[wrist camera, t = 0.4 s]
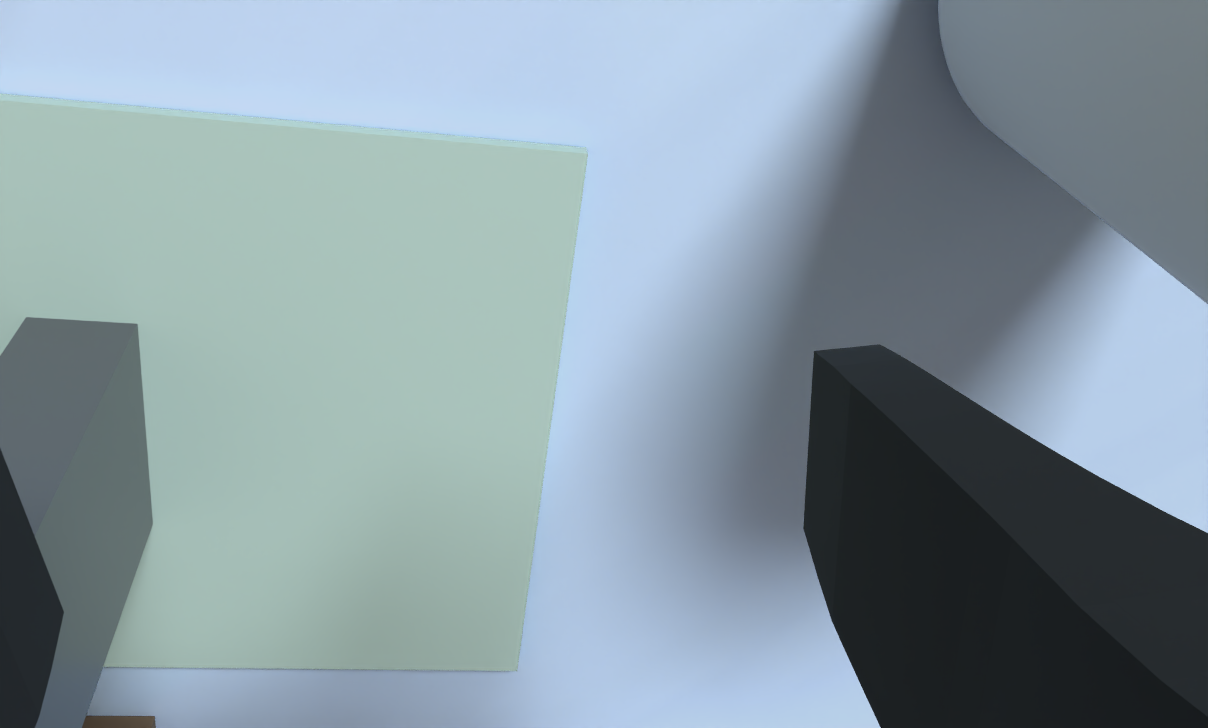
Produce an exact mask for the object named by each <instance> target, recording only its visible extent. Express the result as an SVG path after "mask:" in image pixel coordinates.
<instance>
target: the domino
mask: <svg viewBox="0 0 1208 728" xmlns="http://www.w3.org/2000/svg"><path fill="white" fill-rule="evenodd" d="M0 448H1V451H2V454H3V456H4V459H5V461H6V464H7V466H8V469H9V472H10V474H11V477H12V479H13V482H14V484H15V487H16V490H17V492H18V495H19V497H20V500H21V502H22V505H23V508H24V510H25V513H26V515H27V518H28V520H29V523H30V526H31V528H32V531H33V533H34V536H35V538H36V541H37V544H38V546H39V549H40V551H41V554H42V556H43V559H44V562H45V564H46V567H47V569H48V572H49V574H50V577H51V580H52V582H53V585H54V587H55V590H56V592H57V595H58V598H59V600H60V603H61V605H62V608H63V610H64V615H63V619H62V624H61V628H60V633H59V638H58V642H57V647H56V651H55V656H54V660H53V665H52V669H51V673H50V677H49V681H48V685H47V689H46V693H45V696H44V700H43V704H42V708H41V712H40V716H39V718H38V721H37V724H36V726H35V728H82V726H83V723H84V720H85V717H86V714H87V711H88V709H89V706H90V703H91V700H92V697H93V694H94V691H95V689H96V686H97V683H98V680H99V677H100V674H101V671H102V669H103V666H104V663H105V660H106V657H107V654H108V651H109V649H110V646H111V643H112V640H113V637H114V634H115V631H116V629H117V626H118V623H119V620H120V617H121V614H122V611H123V608H124V606H125V603H126V600H127V597H128V594H129V591H130V588H131V586H132V583H133V580H134V577H135V574H136V571H137V568H138V566H139V563H140V560H141V557H142V554H143V551H144V548H145V546H146V543H147V540H148V537H149V534H150V531H151V528H152V526H153V518H152V505H151V492H150V479H149V466H148V452H147V439H146V426H145V413H144V400H143V387H142V374H141V361H140V348H139V335H138V324H133V323H117V322H100V321H83V320H67V319H50V318H34V317H26V318H25V319H24V321H23V322H22V324H21V325H20V327H19V328H18V330H17V331H16V333H15V334H14V336H13V337H12V339H11V340H10V342H9V343H8V345H7V346H6V348H5V349H4V351H3V352H2V354H1V355H0Z"/></svg>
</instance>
